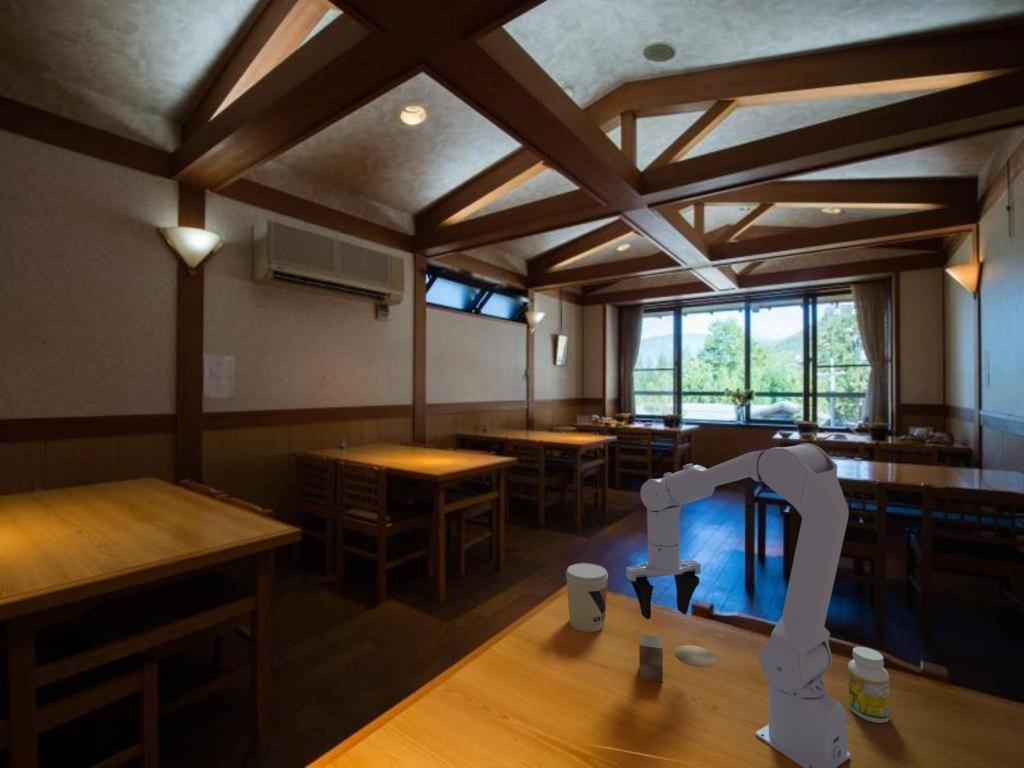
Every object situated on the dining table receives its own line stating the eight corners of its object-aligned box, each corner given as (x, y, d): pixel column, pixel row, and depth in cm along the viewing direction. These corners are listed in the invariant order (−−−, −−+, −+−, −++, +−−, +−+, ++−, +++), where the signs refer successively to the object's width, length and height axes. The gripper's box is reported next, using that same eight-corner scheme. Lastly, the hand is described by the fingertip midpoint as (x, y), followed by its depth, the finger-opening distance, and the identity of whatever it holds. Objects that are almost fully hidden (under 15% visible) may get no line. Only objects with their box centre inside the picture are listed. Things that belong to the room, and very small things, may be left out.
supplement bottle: (895, 727, 74) (894, 665, 74) (853, 719, 76) (853, 658, 76) (882, 706, 79) (882, 648, 79) (844, 698, 81) (843, 641, 81)
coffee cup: (598, 639, 101) (598, 581, 101) (558, 627, 106) (558, 572, 106) (614, 620, 108) (614, 567, 109) (577, 610, 114) (576, 559, 114)
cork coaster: (724, 660, 92) (724, 659, 92) (698, 672, 89) (698, 671, 89) (692, 642, 99) (692, 641, 99) (666, 652, 95) (666, 651, 95)
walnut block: (661, 669, 89) (661, 637, 89) (662, 682, 85) (662, 648, 86) (639, 666, 90) (639, 634, 90) (639, 678, 86) (639, 645, 87)
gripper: (685, 533, 96) (685, 601, 96) (618, 538, 93) (619, 609, 93) (707, 543, 89) (708, 617, 89) (636, 550, 86) (637, 626, 86)
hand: (664, 614), depth 90 cm, fingers open, 7 cm apart
